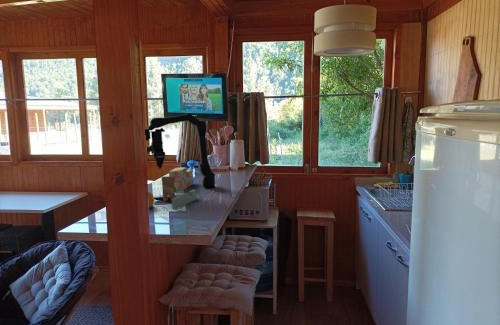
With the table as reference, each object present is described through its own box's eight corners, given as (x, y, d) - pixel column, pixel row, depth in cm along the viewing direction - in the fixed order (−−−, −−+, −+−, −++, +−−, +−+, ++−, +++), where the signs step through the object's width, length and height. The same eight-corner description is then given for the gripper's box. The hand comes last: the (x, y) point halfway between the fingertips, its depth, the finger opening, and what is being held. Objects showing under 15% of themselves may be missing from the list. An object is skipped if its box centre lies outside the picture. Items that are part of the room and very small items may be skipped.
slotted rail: (193, 198, 194) (193, 189, 193) (196, 199, 193) (195, 189, 192) (172, 209, 175) (171, 198, 175) (175, 209, 175) (174, 199, 174)
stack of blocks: (184, 184, 234) (182, 164, 233) (193, 184, 233) (192, 164, 231) (170, 191, 214) (168, 170, 212) (180, 191, 212) (178, 170, 211)
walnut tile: (165, 199, 195) (163, 176, 193) (175, 200, 192) (173, 176, 191) (163, 200, 193) (161, 177, 191) (173, 201, 191) (171, 177, 189)
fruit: (146, 212, 173) (144, 191, 171) (124, 211, 176) (122, 190, 175) (159, 205, 184) (157, 185, 182) (138, 204, 187) (137, 185, 186)
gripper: (141, 140, 213) (143, 166, 215) (143, 142, 196) (145, 171, 198) (160, 138, 217) (162, 165, 219) (164, 141, 199) (166, 169, 202)
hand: (159, 167), depth 209 cm, fingers open, 9 cm apart
